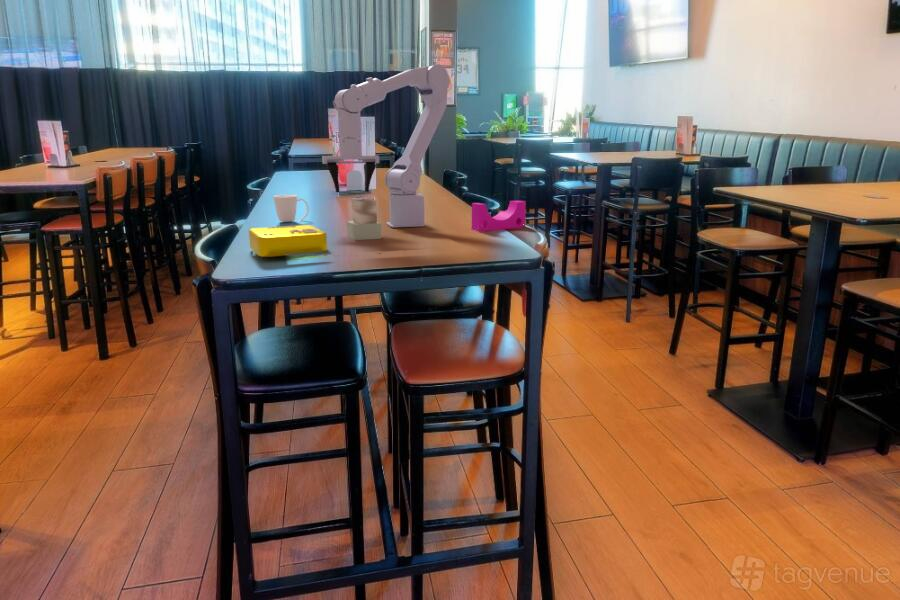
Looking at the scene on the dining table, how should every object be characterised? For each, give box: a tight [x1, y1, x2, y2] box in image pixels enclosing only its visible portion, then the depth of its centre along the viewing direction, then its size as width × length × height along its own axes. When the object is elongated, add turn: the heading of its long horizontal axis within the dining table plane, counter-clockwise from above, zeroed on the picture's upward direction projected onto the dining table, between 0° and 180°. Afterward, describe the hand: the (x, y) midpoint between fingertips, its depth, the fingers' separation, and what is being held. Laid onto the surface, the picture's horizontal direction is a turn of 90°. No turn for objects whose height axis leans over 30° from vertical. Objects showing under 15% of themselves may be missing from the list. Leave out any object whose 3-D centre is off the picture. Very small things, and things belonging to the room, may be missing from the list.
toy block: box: [471, 200, 527, 233], centre depth 167 cm, size 15×6×8 cm, turn 119°
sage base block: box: [346, 220, 383, 241], centre depth 153 cm, size 7×7×4 cm
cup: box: [273, 194, 310, 223], centre depth 175 cm, size 7×10×8 cm
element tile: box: [248, 224, 328, 258], centre depth 138 cm, size 15×15×5 cm
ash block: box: [351, 198, 378, 224], centre depth 152 cm, size 4×4×6 cm
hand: (352, 191), depth 160 cm, fingers open, 7 cm apart
